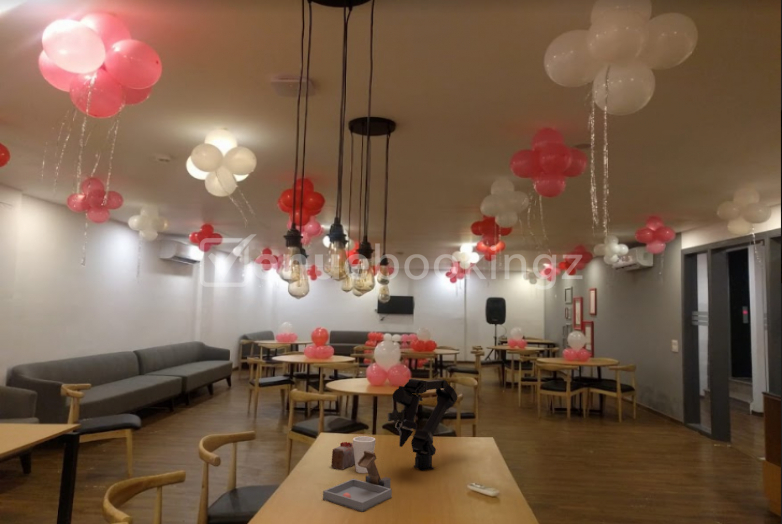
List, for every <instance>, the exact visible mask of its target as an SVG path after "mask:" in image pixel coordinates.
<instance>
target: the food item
mask: <svg viewBox="0 0 782 524" xmlns="http://www.w3.org/2000/svg"><path fill="white" fill-rule="evenodd" d="M331 452H332V453H331V454H332V455H331V465H330V467H331V468H332V469H336V470H340V471H343V470H344V469H346V468H348V467H350V468H351V466H352V465H353V466H354V465H355V458H354V448H353V442H350V441H349V442H347V441H344V442H341V443H340V446H338V447H335V448H333V449H332V451H331ZM353 466H352V467H353Z"/></svg>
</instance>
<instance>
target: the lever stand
mask: <svg viewBox="0 0 782 524" xmlns="http://www.w3.org/2000/svg"><path fill="white" fill-rule="evenodd" d="M391 480H392V479H391V477H387V476H384V477H382V478H381V479H380V480H379V486H382V487H386V488H390V489H391ZM365 482H368V483H371V484H372V482H371V479H370V477H369V474H368V475H366V476H365Z"/></svg>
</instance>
